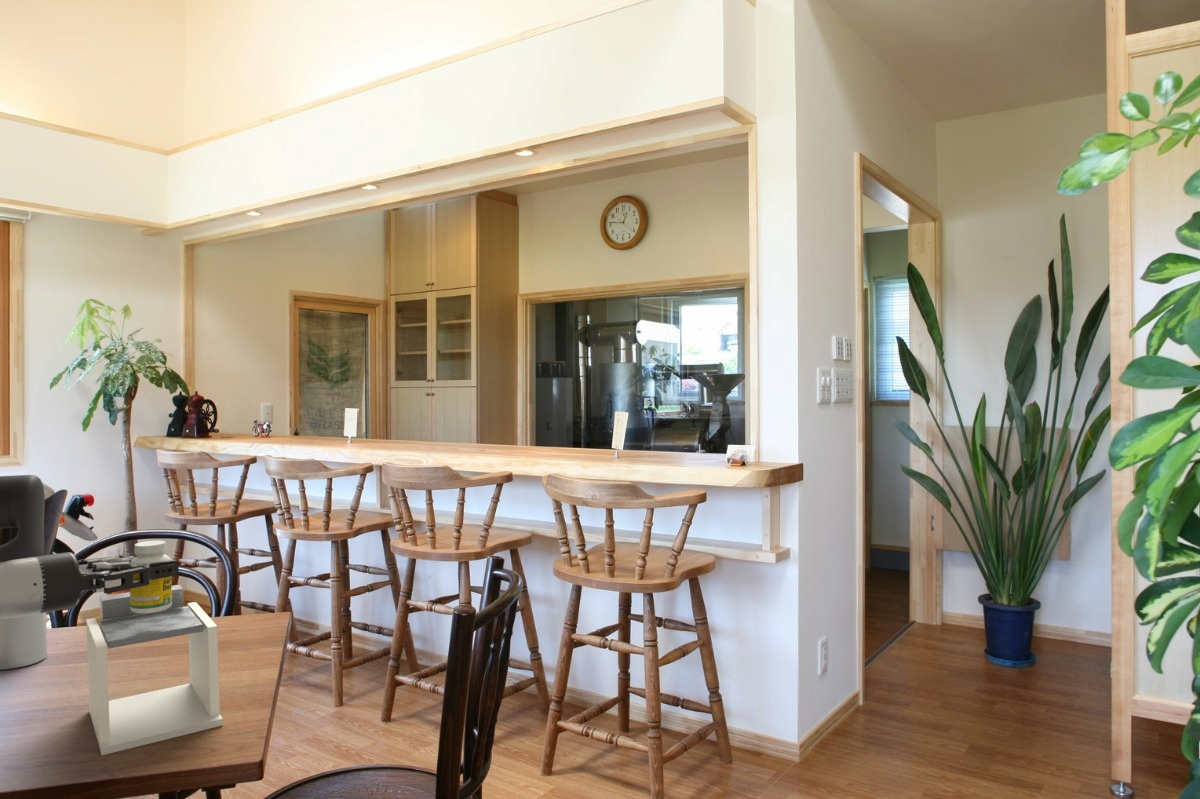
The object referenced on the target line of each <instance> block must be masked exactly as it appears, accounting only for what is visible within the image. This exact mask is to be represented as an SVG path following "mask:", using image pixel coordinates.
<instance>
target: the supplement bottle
mask: <svg viewBox="0 0 1200 799" xmlns="http://www.w3.org/2000/svg"><path fill="white" fill-rule="evenodd" d="M133 546H134V551H133V553H134V554H135V556H136V558H135V557H134V559H132V560H131V562H130V563H131V564H132V565H137V564H144V563H147V564H150V563H156V562H163V561H169V560H172V559H171V557H170V556H169V555H167V554H165V552H166V551H167V543H166V541H164V540H147V541H146V540H145V541H141V542H137V543H135V544H134V545H133ZM172 577H173V576H171V577H165V578H159V579H153V580H151V581H150V584H149V585H147V586H141V587H136V588H132V589H129V592H130V609H131V611H133V612H136V613H152V612H158V611H162V610H165V609H167V608H169V607H170V606H171V605H172V586H173V582H172ZM135 578H140V573H135V574H134V575H133V579H135Z"/></svg>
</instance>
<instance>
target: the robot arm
mask: <svg viewBox="0 0 1200 799" xmlns="http://www.w3.org/2000/svg"><path fill="white" fill-rule="evenodd" d="M45 497H46V496H45V487H44V483H43V481H42V479H41V478H40V477H39V476H37V475H34V474H21V475H19V474H17V475H16V474H15V475H0V529H11V528H13V529H15V528H17V535H16V536H15V537H14V538H13V539H11V540H9V541H8V542H5V543H4V544H1V545H0V670H11V669H18V668H22V667H26V666H29V665H33V664H36V663H38V662H41V661H43V660H44V659H46V658H47V657H48V638H47V634H48V632H47V629H48V628H47V613H49V612H50V613H51V612H55V611H61V610H67V609H73V608H75V607H76V606H78V604H79V602H80V599H81V594H82V593H83V591H93V593H104V594H106V595H112V594H113V593H118V592H121V591H122V592H123V591H126V590H127V591H128V590H130V589H132V588H136V587H141V586H147V585H149V584H150V581H151V580H153V579H159V578H165V577H171V576H172V577H176V576H177V575H178V574H179V572H180V570H179V567H180V566H179V561H178V560H175V559H171V560H169V561H163V562H156V563H150V564H147V563H144V564H137V565H132V564H131V563H130V562H131V560H132V559H134V558H136V557H137V556H136V557H135V556H131V555H127V556H126V555H123V554H120V555H116V556H113V555H112V556H106V557H105V556H104V557H95V558H87V559H84V558H83V559H79V560H78V559H77V557H76V555H75V554H74V553H73V552H69V551H68V552H60V553H52V554H46V555H45V551H44V550H45V507H46V505H45V503H46V498H45ZM135 573H140V578H135V579H133V575H134V574H135Z"/></svg>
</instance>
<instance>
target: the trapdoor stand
mask: <svg viewBox="0 0 1200 799" xmlns="http://www.w3.org/2000/svg"><path fill="white" fill-rule="evenodd" d="M187 606H188V607H189V608H190V610H191V611H192V612H193V613H194V614H195V616H196V617H197V618H198V619H199V620H200V622H201V623H202V624H203V632H197V633H192V634H187V635H188V658H189V659H188V664H189V683H185V684H181V685H177V686H171V687H166V688H162V689H158V690H156V689H155V690H153V691H148V692H144V693H139V694H134V695H128V696H124V697H120V698H115V699H111V700H110V699H109V672H108V671H109V670H108V666H109V665H108V647H107V645H106V642H105V640H104V637H103V635H102V633H101V630H100V628H99V622H98V621H97V618H96V617H95V618H94V617H93V618H87V619H86V620H85V621H86V623H85V624H86V646H87V647H86V649H87V650H86V652H87V653H86V654H87V680H88V682H87V683H88V706H89V707H88V708H89V715H90V718H91V722H92V726H93V729H94V733H95V737H96V740H97V744H98V748H99V751H100V754H101V756H105V755H109V754H113V753H118V752H121V751H125V750H129V749H133V748H136V747H141V746H145V745H146V746H147V745H149V744H150V745H151V744H154V743H157V742H161V741H166V740H169V739H174V738H177V737H182V736H186V735H190V734H193V733H199V732H201V731H206V730H210V729H213V728H214V729H215V728H218V727H221V726H223V725H224V719H223V716H222V715H221V714H220V711H221V710H220V708H221V707H220V683H219V682H220V681H219V678H220V675H219V647H218V625H217V624H216V623H215V622H214V621H213V619H211V617H210V616H209V615H208V613H206V612H205V611H204V610H203V608H202V607H201V606H200V604H198V603H197V602H196V601H195V602H188V603H187Z"/></svg>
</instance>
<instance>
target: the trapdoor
mask: <svg viewBox="0 0 1200 799" xmlns="http://www.w3.org/2000/svg"><path fill="white" fill-rule="evenodd" d="M99 604H100V605H99V607H100V618H101V619H99V620H98V625H99V628H100V630H101V633H102V635H103V637H104V640H105V642H106V645H107V650H109V649H114V648H119V647H125V646H131V645H137V644H142V643H147V642H152V641H159V640H163V639H169V638H175V637H180V636H185V635H188V634H192V633H197V632H203V624H202V623H201V622H200V620H199V619H198V618H197V617H196V616H195V614H194V613H193V612H192V611H191V610H190V608H189V607H188V605H184V589H183V587H182V586H181V585H180V584H175V585H172V605H171V606H170V607H169V608H167V609H165V610H162V611H158V612H152V613H136V612H133V611H131V609H130V591H128V592H122V593H116V594H106V595H101V596H99Z"/></svg>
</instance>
